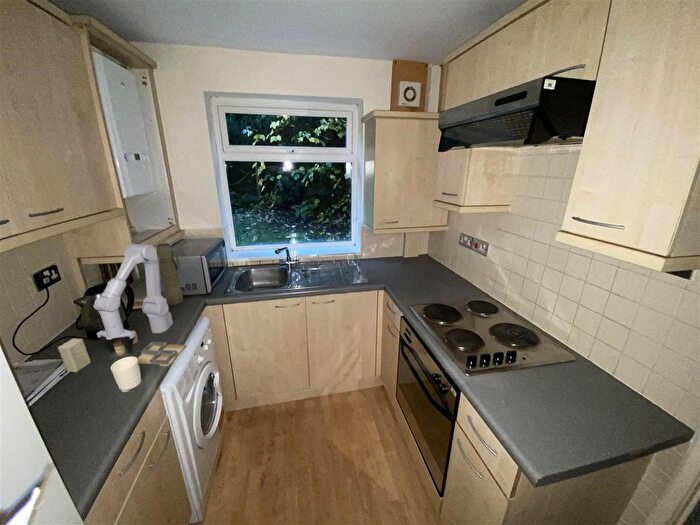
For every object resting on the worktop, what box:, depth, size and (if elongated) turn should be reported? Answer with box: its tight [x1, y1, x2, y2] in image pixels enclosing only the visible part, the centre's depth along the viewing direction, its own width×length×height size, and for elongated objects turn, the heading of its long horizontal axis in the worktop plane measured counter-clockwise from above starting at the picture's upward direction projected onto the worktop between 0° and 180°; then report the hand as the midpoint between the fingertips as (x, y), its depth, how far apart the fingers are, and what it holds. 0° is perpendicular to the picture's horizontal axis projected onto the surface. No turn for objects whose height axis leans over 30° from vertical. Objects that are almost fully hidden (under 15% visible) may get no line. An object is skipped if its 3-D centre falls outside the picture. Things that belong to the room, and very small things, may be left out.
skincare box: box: [57, 337, 92, 373], centre depth 116 cm, size 6×4×12 cm
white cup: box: [110, 356, 142, 393], centre depth 108 cm, size 8×8×10 cm
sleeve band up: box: [113, 338, 127, 358], centre depth 124 cm, size 4×4×6 cm
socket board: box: [136, 341, 187, 367], centre depth 126 cm, size 13×15×2 cm
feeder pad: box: [111, 340, 144, 358], centre depth 129 cm, size 11×6×1 cm, turn 178°
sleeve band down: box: [130, 329, 140, 346], centre depth 131 cm, size 4×4×6 cm
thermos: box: [155, 242, 184, 306], centre depth 166 cm, size 9×12×35 cm
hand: (121, 351), depth 125 cm, fingers open, 7 cm apart
